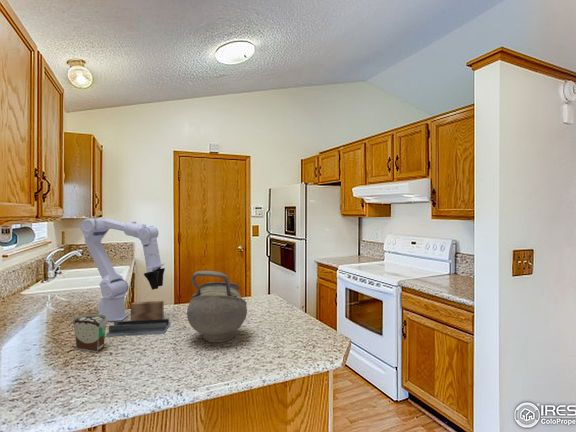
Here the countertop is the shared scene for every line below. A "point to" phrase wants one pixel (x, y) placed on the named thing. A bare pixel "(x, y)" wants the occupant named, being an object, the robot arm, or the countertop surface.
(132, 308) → the door panel
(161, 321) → the track
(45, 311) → the countertop surface
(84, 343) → the food container
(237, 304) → the pot
